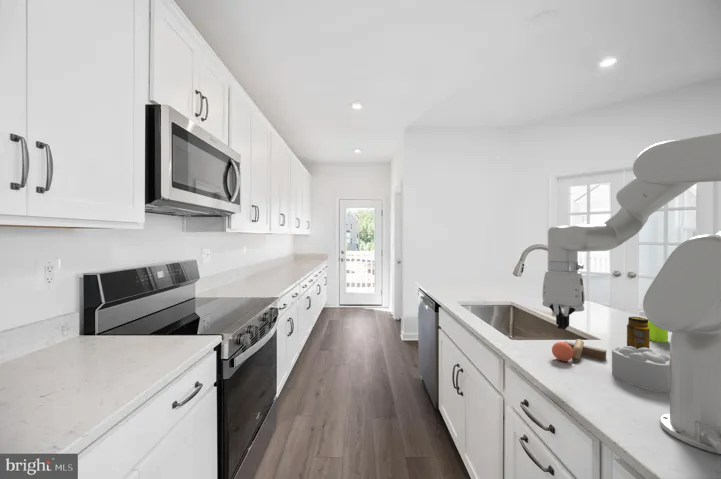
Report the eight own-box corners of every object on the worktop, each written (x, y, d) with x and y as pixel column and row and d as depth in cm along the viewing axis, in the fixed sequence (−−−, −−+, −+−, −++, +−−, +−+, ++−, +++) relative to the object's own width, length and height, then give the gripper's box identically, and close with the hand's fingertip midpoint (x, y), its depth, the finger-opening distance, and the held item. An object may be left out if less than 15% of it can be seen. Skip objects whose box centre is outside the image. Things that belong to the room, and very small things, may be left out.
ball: (574, 346, 104) (580, 357, 99) (560, 356, 107) (565, 368, 101) (559, 335, 105) (564, 345, 99) (545, 345, 107) (549, 356, 102)
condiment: (654, 352, 110) (654, 318, 110) (646, 358, 105) (646, 322, 105) (627, 346, 116) (627, 314, 116) (619, 351, 111) (619, 317, 111)
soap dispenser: (642, 339, 124) (642, 289, 124) (651, 336, 127) (651, 287, 127) (661, 343, 119) (661, 291, 118) (670, 341, 121) (670, 289, 121)
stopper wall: (604, 360, 103) (604, 351, 103) (563, 350, 112) (563, 342, 112) (606, 359, 104) (606, 350, 104) (564, 349, 113) (564, 341, 113)
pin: (580, 357, 101) (584, 341, 107) (571, 353, 103) (576, 338, 108) (578, 362, 102) (583, 346, 108) (570, 358, 104) (574, 343, 109)
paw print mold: (666, 395, 80) (666, 361, 80) (605, 376, 91) (605, 347, 91) (677, 384, 86) (677, 353, 86) (618, 368, 97) (618, 340, 97)
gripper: (596, 268, 90) (596, 331, 91) (540, 265, 102) (540, 321, 102) (588, 270, 86) (589, 336, 86) (530, 266, 97) (531, 325, 97)
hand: (562, 328), depth 94 cm, fingers closed
